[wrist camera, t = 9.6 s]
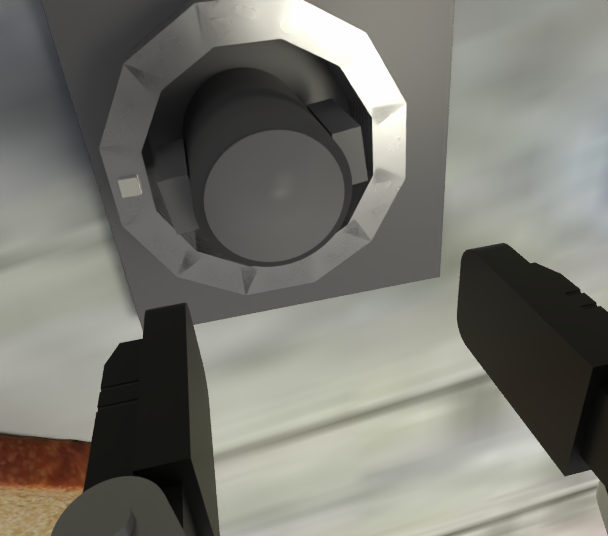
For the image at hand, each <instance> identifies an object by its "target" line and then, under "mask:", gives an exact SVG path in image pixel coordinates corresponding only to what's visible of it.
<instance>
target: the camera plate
mask: <svg viewBox="0 0 608 536" xmlns="http://www.w3.org/2000/svg"><path fill="white" fill-rule="evenodd" d="M186 1H187V0H41V2H42V5H43V9H44V12H45V15H46V18H47V22H48V25H49V28H50V31H51V35H52V38H53V41H54V44H55V48H56V51H57V54H58V57H59V61H60V64H61V67H62V70H63V73H64V77H65V80H66V83H67V86H68V90H69V93H70V96H71V99H72V103H73V106H74V109H75V112H76V116H77V119H78V122H79V125H80V129H81V132H82V135H83V138H84V141H85V145H86V148H87V151H88V154H89V158H90V161H91V164H92V167H93V171H94V174H95V177H96V180H97V184H98V187H99V190H100V193H101V197H102V200H103V203H104V206H105V210H106V213H107V216H108V219H109V222H110V226H111V229H112V232H113V235H114V239H115V242H116V245H117V248H118V252H119V255H120V258H121V261H122V265H123V268H124V271H125V274H126V278H127V281H128V284H129V287H130V290H131V294H132V297H133V300H134V303H135V307H136V310H137V313H138V316H139V320H140V323H141V326H142V329H144V317H145V311H146V310H148V309H153V308H158V307H164V306H169V305H174V304H180V303H185V302H187V304H188V307H189V310H190V314H191V318H192V322H193V325H195V324H200V323H205V322H210V321H215V320H221V319H226V318H231V317H236V316H241V315H246V314H251V313H256V312H261V311H267V310H272V309H277V308H282V307H287V306H292V305H297V304H302V303H308V302H313V301H318V300H323V299H328V298H333V297H338V296H343V295H348V294H354V293H359V292H364V291H369V290H374V289H379V288H384V287H389V286H395V285H400V284H405V283H410V282H415V281H420V280H425V279H430V278H435V277H440V263H441V245H442V227H443V208H444V190H445V171H446V153H447V135H448V116H449V98H450V80H451V61H452V43H453V24H454V6H455V0H304V1H305V2H307V3H309V4H311V5H313V6H315V7H317V8H319V9H321V10H323V11H325V12H327V13H329V14H331V15H333V16H335V17H336V18H338V19H340V20H342V21H344V22H346V23H348V24H350V25H352V26H354V27H356V28H358V29H360V30H362V31H364V32H366V33H367V35H368V37H369V39H370V40H371V42H372V44H373V46H374V47H375V49H376V51H377V53H378V54H379V56H380V58H381V60H382V61H383V63H384V65H385V67H386V68H387V70H388V72H389V74H390V75H391V77H392V79H393V81H394V82H395V84H396V86H397V88H398V89H399V91H400V93H401V95H402V96H403V98H404V100H405V102H406V170H405V180H404V182H403V184H402V185H401V187H400V189H399V191H398V193H397V195H396V196H395V198H394V200H393V202H392V204H391V206H390V208H389V209H388V211H387V213H386V215H385V217H384V219H383V220H382V222H381V224H380V226H379V228H378V230H377V231H376V233H375V235H374V237H373V239H372V241H371V242H370V243H368V244H367V245H365V246H364V247H363V248H361V249H360V250H358V251H357V252H356V253H354V254H353V255H351V256H350V257H349V258H347V259H346V260H345V261H343V262H342V263H340V264H339V265H338V266H336V267H335V268H333V269H332V270H331V271H329V272H328V273H326V274H325V275H324V276H322V277H321V278H320V279H318V280H317V281H315V282H313V283H308V284H302V285H297V286H292V287H287V288H281V289H276V290H271V291H266V292H260V293H255V294H250V295H243V294H239V293H236V292H232V291H228V290H224V289H221V288H217V287H213V286H209V285H206V284H202V283H198V282H195V281H191V280H187V279H183V278H180V277H177V276H176V275H174V274H173V273H172V272H171V271H170V270H169V269H168V268H167V267H166V266H165V265H164V264H163V263H162V262H160V261H159V260H158V259H157V258H156V257H155V256H154V255H153V254H152V253H151V252H150V251H149V250H148V249H147V248H145V247H144V246H143V245H142V244H141V243H140V242H139V241H138V240H137V239H136V238H135V237H134V236H133V235H131V234H130V233H129V232H128V231H127V230H126V229H125V228H124V227H123V226H122V224H121V221H120V217H119V214H118V211H117V207H116V204H115V200H114V197H113V194H112V190H111V187H110V184H109V180H108V177H107V173H106V170H105V167H104V163H103V160H102V157H101V153H100V150H99V146H100V143H101V140H102V136H103V133H104V129H105V126H106V123H107V119H108V116H109V112H110V109H111V105H112V102H113V98H114V95H115V91H116V88H117V85H118V81H119V78H120V74H121V71H122V67H123V63H124V61H125V59H126V57H127V55H128V53H129V51H130V49H131V48H132V47H133V46H134V45H135V44H137V43H138V42H139V41H140V40H141V39H142V38H144V37H145V36H146V35H147V34H148V33H150V32H151V31H152V30H153V29H154V28H155V27H157V26H158V25H159V24H160V23H161V22H162V21H164V20H165V19H166V18H167V17H168V16H170V15H171V14H172V13H173V12H174V11H175V10H177V9H178V8H179V7H180V6H181V5H182V4H184V3H185V2H186ZM237 68H252V69H258V70H262V71H265V72H268V73H270V74H272V75H274V76H276V77H278V78H279V79H280V80H282V81H283V82H284V83H285V84H286V85H287V86H288V87H289V88H290V89H291V90H292V91H293V92H294V93H295V95H296V96H297V97H298V98H299V99H300V101H301V102H302V103H303V104H304V105H305V106H306V108H307V105H309V104H312V103H316V102H320V101H323V100H327V99H331V98H332V99H333V100H334V101H335V102H336V103H337V104H338V105H339V106H340V107H341V108H342V109H343V110H344V111H345V112H346V113H347V114H348V104H347V97H346V95H345V94H344V92H343V90H342V89H341V87H340V86H339V84H338V83H337V81H336V80H335V78H334V76H333V75H332V73H331V72H330V70H329V69H328V67H327V65H326V64H325V62H324V61H323V59H322V58H321V57H319V56H317V55H315V54H313V53H311V52H309V51H307V50H305V49H303V48H300V47H298V46H296V45H294V44H292V43H290V42H288V41H286V40H284V39H282V38H281V39H273V40H265V41H257V42H249V43H241V44H233V45H225V46H218V47H213V48H212V49H211V50H210V51H208V52H207V53H206V54H205V55H204V56H202V57H201V58H200V59H199V60H197V61H196V62H195V63H194V64H193V65H191V66H190V67H189V68H188V69H187V70H185V71H184V72H183V73H182V74H181V75H179V76H178V77H177V78H176V79H174V80H173V81H172V82H171V83H170V84H168V85H167V86H166V87H165V88H164V89H162V90H161V93H160V96H159V99H158V102H157V105H156V108H155V111H154V114H153V117H152V120H151V123H150V126H149V130H148V133H147V136H148V140H149V144H150V148H151V152H152V156H153V160H154V165H155V169H156V173H157V145H161V144H164V143H168V142H172V141H175V140H179V139H183V141H184V137H183V122H184V116H185V112H186V109H187V106H188V104H189V102H190V100H191V98H192V97H193V95H194V94H195V92H196V91H197V90H198V89H199V88H200V87H201V86H202V85H203V84H204V83H205V82H206V81H207V80H209V79H210V78H212V77H213V76H215V75H217V74H219V73H222V72H225V71H227V70H232V69H237Z"/></svg>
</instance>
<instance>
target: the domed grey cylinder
mask: <svg viewBox="0 0 608 536" xmlns="http://www.w3.org/2000/svg"><path fill="white" fill-rule="evenodd" d="M183 137H184V141H183V139H179V140H175V141H172V142H168V143H164V144H161V145H157V184H158V186H159V189H160V192H161V194H162V197H163V199H164V202H165V205H166V207H167V210H168V212H169V215H170V218H171V220H172V223H173V225H174V228H175V231H176V233H177V235H179V234H183V233H186V232H190V231H193V230H197V229H200V230H201V232H202V233H203V235H204V236H205V238H206V239H207V240H208V241H209V243H210V244H211V245H212V246H213V247H214V248H216V249H217V250H218V251H219V252H220V253H222V254H223V255H225V256H226V257H228V258H230V259H232V260H234V261H237V262H240V263H243V264H246V265H251V266H258V267H275V266H283V265H287V264H291V263H294V262H297V261H299V260H302V259H304V258H306V257H308V256H310V255H311V254H313V253H315V252H316V251H318V250H319V249H320V248H322V247H323V246H324V245H325V244H326V243H327V242H328V241H329V240H330V239H331V238H332V237H333V236H334V235H335V233H336V232H337V231H338V230H339V228H340V226H341V225H342V223H343V221H344V219H345V217H346V215H347V213H348V209H349V206H350V202H351V197H352V185H354V184H357V183H361V182H364V181H368V177H367V170H366V162H365V155H364V147H363V140H362V132H361V126H360V125H359V124H358V123H357V122H356V121H355V120H354V119H353V118H352V117H350V116H349V115H348V114H347V113H346V112H345V111H344V110H343V109H342V108H341V107H340V106H339V105H338V104H337V103H336V102H335V101H334V100H333V99H332V98H331V99H327V100H323V101H320V102H316V103H312V104H309V105H307V108H306V106H305V105H304V104H303V103H302V102H301V101H300V99H299V98H298V97H297V96H296V95H295V93H294V92H293V91H292V90H291V89H290V88H289V87H288V86H287V85H286V84H285V83H284V82H283V81H282V80H280V79H279V78H278V77H276V76H274V75H272V74H270V73H268V72H265V71H262V70H258V69H252V68H237V69H232V70H227V71H225V72H222V73H219V74H217V75H215V76H213V77H212V78H210V79H209V80H207V81H206V82H205V83H204V84H203V85H202V86H201V87H200V88H199V89H198V90H197V91H196V92H195V94H194V95H193V97H192V98H191V100H190V102H189V104H188V106H187V109H186V112H185V116H184V122H183Z"/></svg>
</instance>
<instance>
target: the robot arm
mask: <svg viewBox="0 0 608 536" xmlns="http://www.w3.org/2000/svg"><path fill="white" fill-rule="evenodd" d="M457 322H458V328H459V331H460V334H461V337H462V339H463V341H464V343H465V345H466V346H467V348H468V349H469V350H470V352H471V353H472V354H473V356H474V357H475V358H476V359H477V361H478V362H479V363H480V365H481V366H482V367H483V369H484V370H485V371H486V373H487V374H488V375H489V377H490V378H491V379H492V381H493V382H494V383H495V385H496V386H497V387H498V389H499V390H500V391H501V393H502V394H503V395H504V397H505V398H506V399H507V401H508V402H509V403H510V404H511V406H512V407H513V408H514V410H515V411H516V412H517V414H518V415H519V416H520V418H521V419H522V420H523V422H524V423H525V424H526V426H527V427H528V428H529V430H530V431H531V432H532V434H533V435H534V436H535V438H536V439H537V440H538V442H539V443H540V444H541V446H542V447H543V448H544V449H545V451H546V452H547V453H548V455H549V456H550V457H551V459H552V460H553V461H554V463H555V464H556V465H557V467H558V468H559V469H560V471H561V472H562V473H563V475H564V476H568V475H572V474H576V473H580V472H584V471H588V470H592V471H593V472H594V473H595V475H596V476H597V477H598V478H599V480H600V482H599V485H598V488H597V492H596V498H597V503H598V506H599V509H600V512H601V516H602V519H603V522H604V525H605V528H606V531H607V534H608V312H607V311H606V310H605V309H604V308H602V307H601V306H598V307H597V305H596V302H595V301H594V300H592V299H591V298H590V297H589V296H588V295H586V294H585V293H581V292H580V289H579V288H578V287H577V286H575V285H574V284H573V283H572V282H570V281H569V280H568V279H567V278H565V277H564V276H563V275H562V274H560V273H558V272H555V271H553V270H551V269H549V268H546V267H544V266H542V265H539V264H537V263H529V262H528V261H527V260H526V259H524V258H523V257H522V256H521V255H520V254H519V253H517V252H516V251H515V250H514V249H513V248H511V247H510V246H509V245H508V244H505V243H500V244H495V245H490V246H485V247H479V248H474V249H469V250H466V251H465V252H464V253H463V255H462V259H461V268H460V281H459V294H458V307H457ZM97 407H98V412H96V418H95V424H94V430H93V436H92V442H91V448H90V454H89V460H88V466H87V472H86V477H85V483H84V489H83V493H82V494H81V495H80V496H78V497H77V498H76V499H75V500H74V501H73V502H72V503H71V504H70V505H69V506H68V507H67V508H66V509H65V510H64V512H63V513H62V514H61V516H60V517H59V519H58V520H57V522H56V524H55V526H54V528H53V531H52V533H51V536H220V532H219V520H218V507H217V495H216V483H215V470H214V458H213V445H212V433H211V421H210V408H209V397H208V389H207V383H206V377H205V372H204V367H203V363H202V359H201V355H200V351H199V347H198V343H197V339H196V334H195V330H194V326H193V322H192V318H191V314H190V310H189V307H188V304H187V302H185V303H180V304H174V305H169V306H164V307H158V308H153V309H148V310H146V311H145V317H144V329H143V339H139V340H134V341H129V342H124V343H120V344H119V345H118V347H117V348H116V349H115V351H114V352H113V354H112V355H111V356H110V358H109V359H108V361H107V362H106V364H105V365H104V371H103V377H102V383H101V392H100V395H99V400H98V406H97Z"/></svg>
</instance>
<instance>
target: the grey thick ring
mask: <svg viewBox="0 0 608 536" xmlns="http://www.w3.org/2000/svg"><path fill="white" fill-rule="evenodd" d="M281 38H282V39H284V40H286V41H288V42H290V43H292V44H294V45H296V46H298V47H300V48H303V49H305V50H307V51H309V52H311V53H313V54H315V55H317V56H319V57H321V58H322V59H323V61H324V62H325V64H326V65H327V67H328V69H329V70H330V72H331V73H332V75H333V76H334V78H335V80H336V81H337V83H338V84H339V86H340V87H341V89H342V90H343V92H344V94H345V95H346V97H347V104H348V115H349V116H350V117H352V118H353V119H354V120H355V121H356V122H357V123H358V124H359V125H360V126H361V132H362V140H363V147H364V155H365V162H366V170H367V177H368V181H364V182H361V183H357V184H354V185H352V197H351V202H350V206H349V209H348V213H347V215H346V217H345V219H344V221H343V223H342V225H341V226H340V228H339V230H338V231H337V232H336V233H335V235H334V236H333V237H332V238H331V239H330V240H329V241H328V242H327V243H326V244H325V245H324V246H323V247H322V248H320V249H319V250H318V251H316V252H315V253H313V254H311V255H310V256H308V257H306V258H304V259H302V260H299V261H297V262H294V263H291V264H287V265H283V266H275V267H258V266H251V265H246V264H243V263H240V262H237V261H234V260H232V259H230V258H228V257H226V256H225V255H223V254H222V253H220V252H219V251H218V250H217V249H216V248H214V247H213V246H212V245H211V244H210V243H209V241H208V240H207V239H206V238H205V236H204V235H203V233H202V232H201V230H200V229H197V230H193V231H190V232H186V233H183V234H179V235H177V233H176V231H175V228H174V225H173V223H172V220H171V218H170V215H169V212H168V210H167V207H166V205H165V202H164V199H163V197H162V194H161V192H160V189H159V186H158V184H157V173H156V169H155V165H154V160H153V156H152V152H151V148H150V144H149V140H148V136H147V133H148V130H149V126H150V123H151V120H152V117H153V114H154V111H155V108H156V105H157V102H158V99H159V96H160V93H161V90H162V89H164V88H165V87H166V86H167V85H168V84H170V83H171V82H172V81H173V80H174V79H176V78H177V77H178V76H179V75H181V74H182V73H183V72H184V71H185V70H187V69H188V68H189V67H190V66H191V65H193V64H194V63H195V62H196V61H197V60H199V59H200V58H201V57H202V56H204V55H205V54H206V53H207V52H208V51H210V50H211V49H212V48H213V47H218V46H225V45H233V44H241V43H249V42H257V41H265V40H273V39H281ZM99 150H100V153H101V157H102V160H103V163H104V167H105V170H106V173H107V177H108V180H109V184H110V187H111V190H112V194H113V197H114V200H115V204H116V207H117V211H118V214H119V217H120V221H121V224H122V226H123V227H124V228H125V229H126V230H127V231H128V232H129V233H130V234H131V235H133V236H134V237H135V238H136V239H137V240H138V241H139V242H140V243H141V244H142V245H143V246H144V247H145V248H147V249H148V250H149V251H150V252H151V253H152V254H153V255H154V256H155V257H156V258H157V259H158V260H159V261H160V262H162V263H163V264H164V265H165V266H166V267H167V268H168V269H169V270H170V271H171V272H172V273H173V274H174V275H176V276H177V277H180V278H183V279H187V280H191V281H195V282H198V283H202V284H206V285H209V286H213V287H217V288H221V289H224V290H228V291H232V292H236V293H239V294H243V295H250V294H255V293H260V292H266V291H271V290H276V289H281V288H287V287H292V286H297V285H302V284H308V283H313V282H315V281H317V280H318V279H320V278H321V277H322V276H324V275H325V274H326V273H328V272H329V271H331V270H332V269H333V268H335V267H336V266H338V265H339V264H340V263H342V262H343V261H345V260H346V259H347V258H349V257H350V256H351V255H353V254H354V253H356V252H357V251H358V250H360V249H361V248H363V247H364V246H365V245H367V244H368V243H370V242H371V241H372V239H373V237H374V235H375V233H376V231H377V230H378V228H379V226H380V224H381V222H382V220H383V219H384V217H385V215H386V213H387V211H388V209H389V208H390V206H391V204H392V202H393V200H394V198H395V196H396V195H397V193H398V191H399V189H400V187H401V185H402V184H403V182H404V180H405V170H406V102H405V100H404V98H403V96H402V95H401V93H400V91H399V89H398V88H397V86H396V84H395V82H394V81H393V79H392V77H391V75H390V74H389V72H388V70H387V68H386V67H385V65H384V63H383V61H382V60H381V58H380V56H379V54H378V53H377V51H376V49H375V47H374V46H373V44H372V42H371V40H370V39H369V37H368V35H367V33H366V32H364V31H362V30H360V29H358V28H356V27H354V26H352V25H350V24H348V23H346V22H344V21H342V20H340V19H338V18H336V17H335V16H333V15H331V14H329V13H327V12H325V11H323V10H321V9H319V8H317V7H315V6H313V5H311V4H309V3H307V2H305V1H304V0H187V1H186V2H185V3H184V4H182V5H181V6H180V7H179V8H178V9H177V10H175V11H174V12H173V13H172V14H171V15H170V16H168V17H167V18H166V19H165V20H164V21H162V22H161V23H160V24H159V25H158V26H157V27H155V28H154V29H153V30H152V31H151V32H150V33H148V34H147V35H146V36H145V37H144V38H142V39H141V40H140V41H139V42H138V43H137V44H135V45H134V46H133V47H132V48H131V49H130V51H129V53H128V55H127V57H126V59H125V61H124V63H123V67H122V71H121V74H120V78H119V81H118V85H117V88H116V91H115V95H114V98H113V102H112V105H111V109H110V112H109V116H108V119H107V123H106V126H105V129H104V133H103V136H102V140H101V143H100V146H99Z"/></svg>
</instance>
